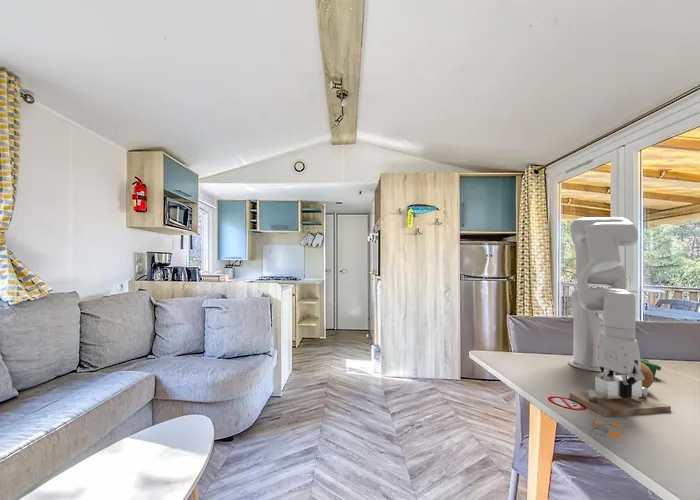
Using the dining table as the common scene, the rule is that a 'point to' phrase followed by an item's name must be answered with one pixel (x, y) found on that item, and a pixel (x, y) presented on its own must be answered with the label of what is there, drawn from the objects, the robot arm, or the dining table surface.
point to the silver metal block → (614, 387)
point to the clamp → (651, 366)
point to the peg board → (620, 404)
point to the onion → (646, 373)
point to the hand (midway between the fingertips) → (618, 393)
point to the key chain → (606, 427)
